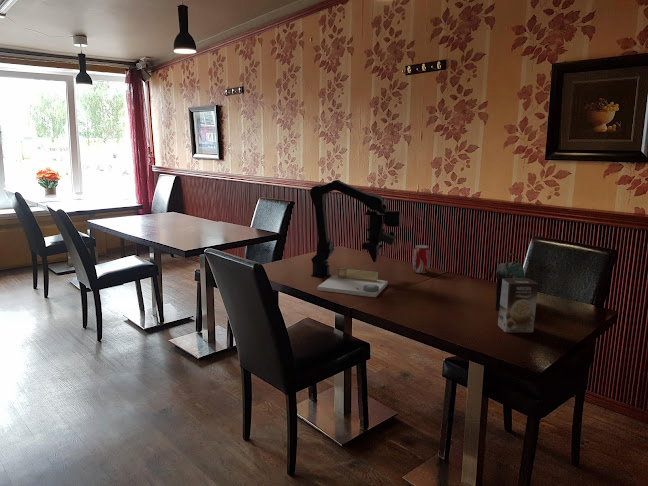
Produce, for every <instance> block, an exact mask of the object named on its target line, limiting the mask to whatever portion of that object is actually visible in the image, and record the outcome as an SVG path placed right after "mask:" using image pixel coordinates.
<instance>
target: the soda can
mask: <svg viewBox="0 0 648 486" xmlns="http://www.w3.org/2000/svg"><path fill="white" fill-rule="evenodd" d="M414 246H415V247H414V249H413V258H412V261H413V262H412V269H413V272H414V273H416V274H420V273H423V274H427V273H428V272H429V270H430V257H431V255H430V251H431V250H430V248H429V245H425V244H417V245H414Z"/></svg>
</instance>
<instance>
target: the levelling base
mask: <svg viewBox="0 0 648 486" xmlns="http://www.w3.org/2000/svg"><path fill="white" fill-rule="evenodd" d="M388 283H389V281H388V280H384V279H383V280H382V279H378V280H377V281H370V280H361V279H352V278H339V277H338V275H337V274H333V275H332V276H330V277H329V278H327V279H326V280H325V281H323V282H322V283H321V284H318V286H317V291H322V292H328V293H330V292H331V293H337V294H338V293H339V294H346V295H352V296H353V295H354V296H362V297H370V298H377V296H379V295H380V294H381V292H382V291H383V290H384V289H385V288H386V287H387V286H388V285H389V284H388Z"/></svg>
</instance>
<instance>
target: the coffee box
mask: <svg viewBox="0 0 648 486" xmlns="http://www.w3.org/2000/svg"><path fill="white" fill-rule="evenodd" d="M538 291H539V283H538V282H536V281H535V280H533V279H531V278H529V277H527V278H526V277H525V278H502V288H501V298H500V308H499V311H498V321H497V326H498V327H499V328H500V329H501V330H502V331H503V332H504V333H534V327H535V319H536V307H537V301H538Z"/></svg>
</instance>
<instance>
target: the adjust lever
mask: <svg viewBox="0 0 648 486" xmlns="http://www.w3.org/2000/svg"><path fill="white" fill-rule="evenodd" d="M337 269H338V271H337V272H338V273H337V274H338V277H339V278H352V279H361V280H370V281H377V280H379V271H371V270H370V271H369V270H361V269H352V268H347V267H339V268H337Z"/></svg>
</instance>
